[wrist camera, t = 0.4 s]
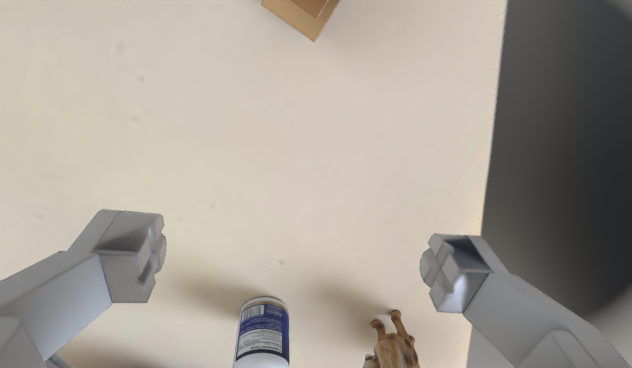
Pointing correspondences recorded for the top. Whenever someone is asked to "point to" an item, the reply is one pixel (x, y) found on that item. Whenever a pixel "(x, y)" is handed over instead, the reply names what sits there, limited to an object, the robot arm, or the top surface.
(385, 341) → the lion figurine
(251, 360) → the pill bottle
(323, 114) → the top surface
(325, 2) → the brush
